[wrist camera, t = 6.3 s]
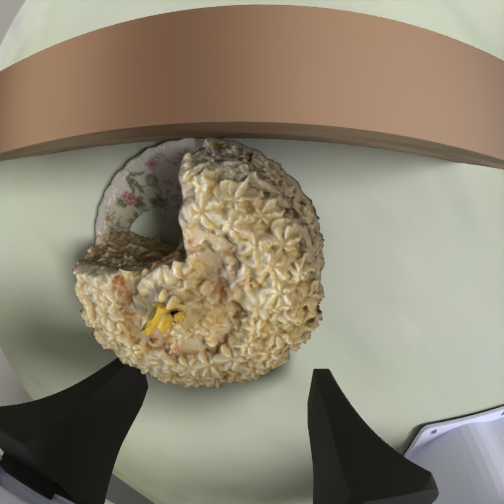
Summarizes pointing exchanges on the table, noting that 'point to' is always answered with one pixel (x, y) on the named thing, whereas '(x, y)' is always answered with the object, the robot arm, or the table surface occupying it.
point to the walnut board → (258, 85)
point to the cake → (204, 265)
